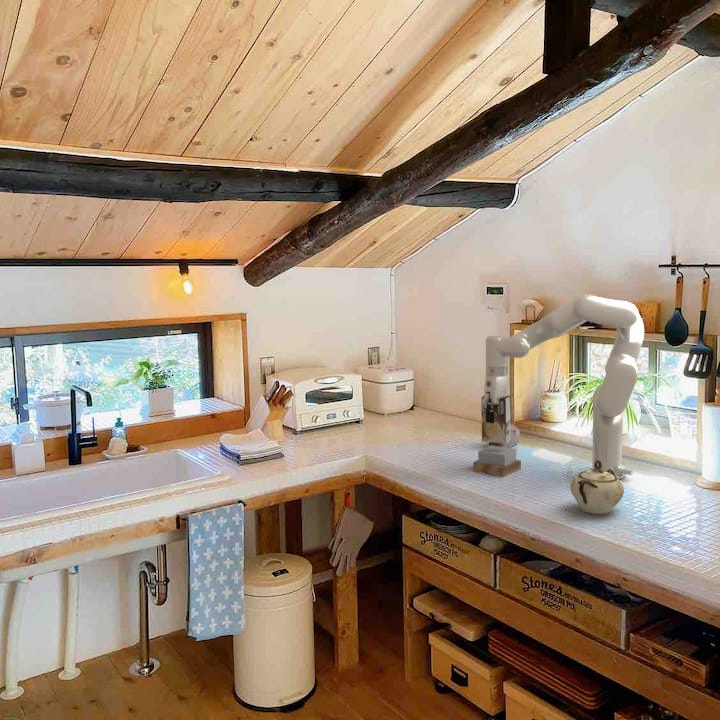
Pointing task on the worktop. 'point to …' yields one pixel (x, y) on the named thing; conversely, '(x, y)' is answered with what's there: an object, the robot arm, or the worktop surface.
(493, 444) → the food item
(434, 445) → the worktop surface
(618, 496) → the sugar bowl
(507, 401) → the coffee box
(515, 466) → the tower base block
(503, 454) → the tower top block
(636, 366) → the robot arm
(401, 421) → the worktop surface
